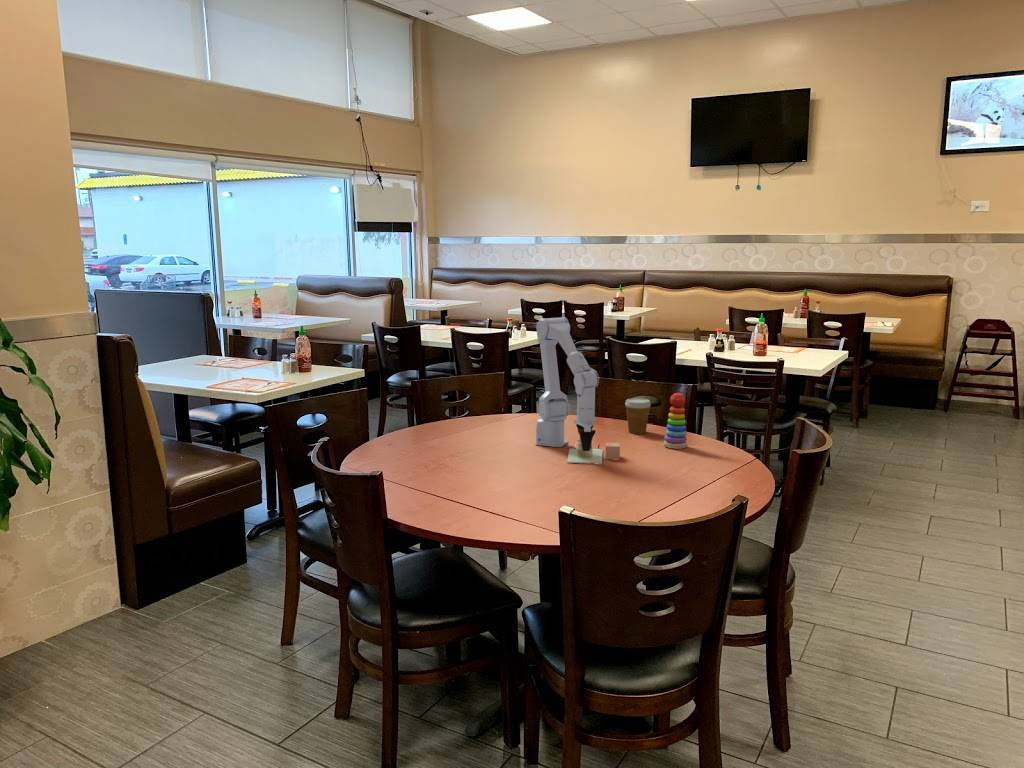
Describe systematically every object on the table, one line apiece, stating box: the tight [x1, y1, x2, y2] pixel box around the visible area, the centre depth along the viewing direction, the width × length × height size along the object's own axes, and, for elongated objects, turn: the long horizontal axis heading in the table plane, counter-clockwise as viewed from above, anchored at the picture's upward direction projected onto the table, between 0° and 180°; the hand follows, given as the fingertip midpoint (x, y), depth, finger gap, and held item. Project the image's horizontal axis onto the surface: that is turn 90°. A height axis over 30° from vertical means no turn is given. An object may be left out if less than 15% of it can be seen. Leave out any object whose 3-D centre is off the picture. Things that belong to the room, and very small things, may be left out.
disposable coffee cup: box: [624, 397, 652, 435], centre depth 282 cm, size 10×10×12 cm
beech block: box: [577, 439, 593, 457], centre depth 249 cm, size 4×4×4 cm
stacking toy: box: [663, 392, 688, 450], centre depth 260 cm, size 8×8×19 cm
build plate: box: [566, 448, 603, 465], centre depth 249 cm, size 11×16×1 cm
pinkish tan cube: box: [605, 442, 621, 460], centre depth 248 cm, size 4×4×4 cm
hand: (585, 448), depth 249 cm, fingers open, 6 cm apart
